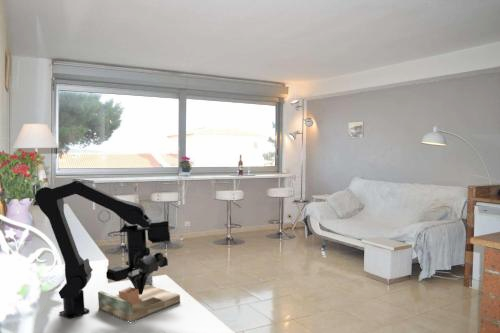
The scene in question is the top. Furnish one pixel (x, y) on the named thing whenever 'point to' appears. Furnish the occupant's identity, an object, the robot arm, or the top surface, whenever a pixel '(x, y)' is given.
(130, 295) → the block
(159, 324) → the top surface
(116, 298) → the board
